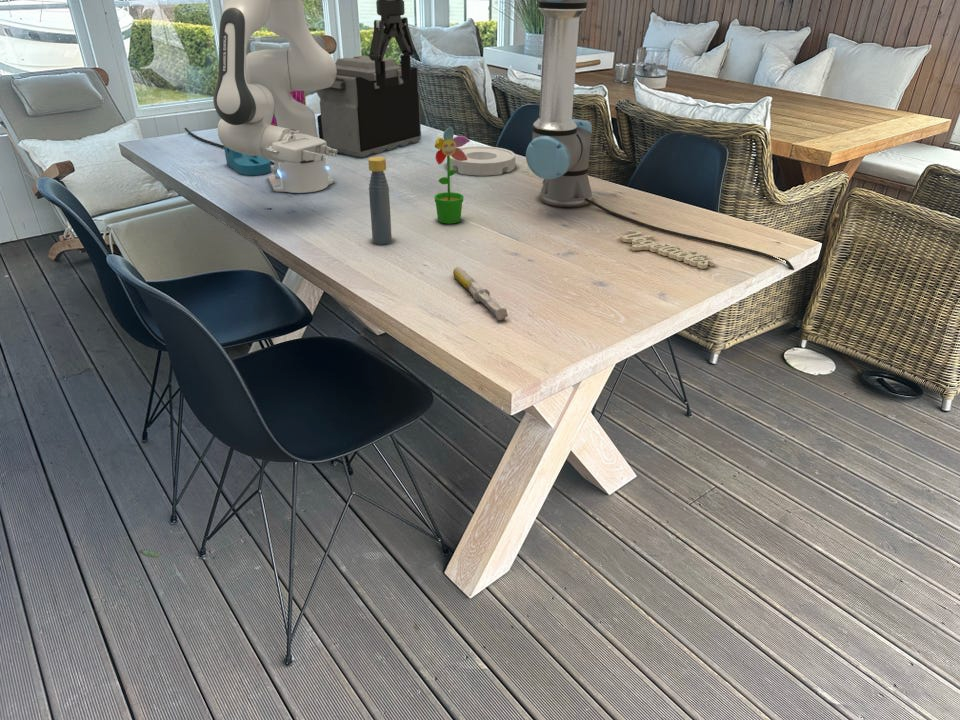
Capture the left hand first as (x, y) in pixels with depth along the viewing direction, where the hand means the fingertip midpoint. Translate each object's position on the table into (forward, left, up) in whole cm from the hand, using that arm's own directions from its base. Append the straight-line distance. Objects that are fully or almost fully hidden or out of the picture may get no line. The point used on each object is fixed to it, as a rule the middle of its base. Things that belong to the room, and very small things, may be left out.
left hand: (329, 155), depth 178 cm
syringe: (+62, +6, -17) cm, 65 cm away
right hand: (-16, +27, +14) cm, 34 cm away
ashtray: (-25, +63, -17) cm, 70 cm away
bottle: (+22, +3, -17) cm, 28 cm away
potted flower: (+17, +26, -17) cm, 36 cm away
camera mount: (-62, -4, -17) cm, 64 cm away
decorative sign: (+64, +59, -17) cm, 89 cm away
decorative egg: (-96, +19, -17) cm, 99 cm away
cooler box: (-70, +44, -17) cm, 84 cm away
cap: (+22, +3, +3) cm, 23 cm away
